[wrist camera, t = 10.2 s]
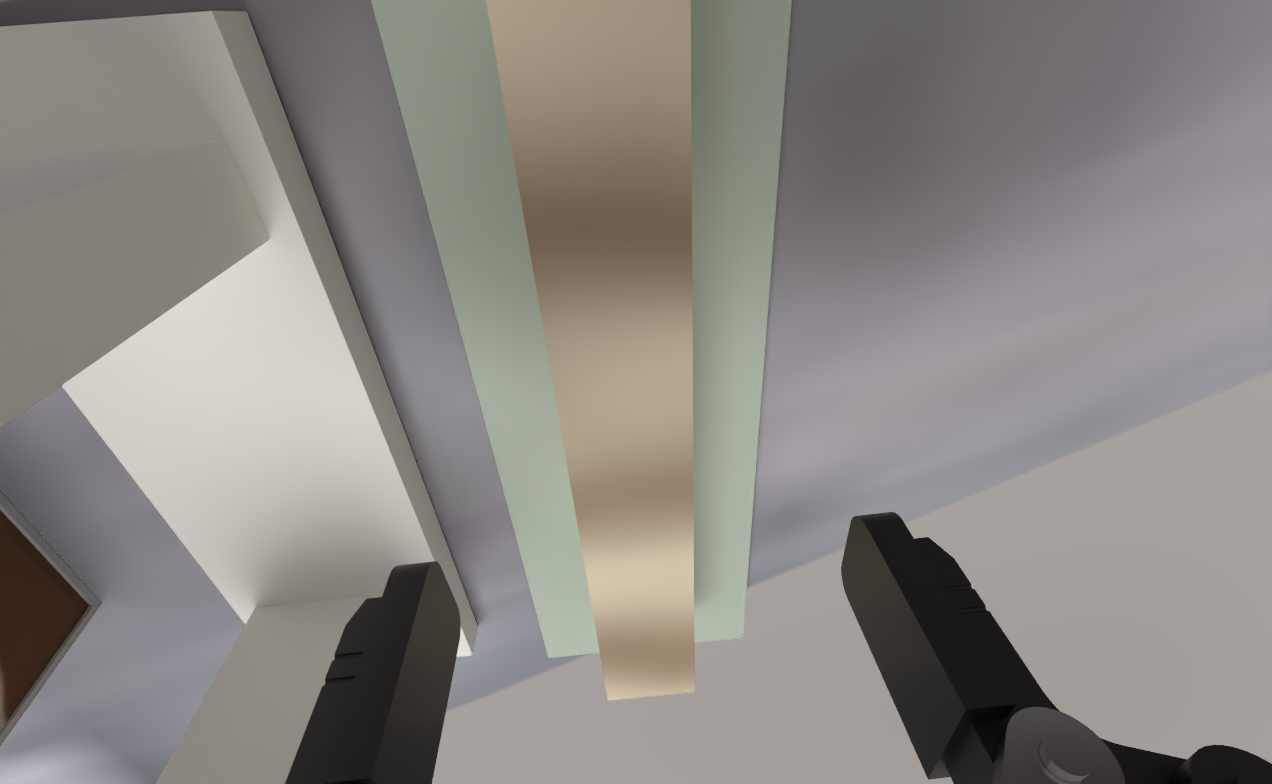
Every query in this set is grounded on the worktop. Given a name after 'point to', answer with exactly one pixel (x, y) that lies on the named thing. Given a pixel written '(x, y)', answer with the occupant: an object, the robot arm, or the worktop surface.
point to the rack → (207, 348)
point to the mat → (508, 303)
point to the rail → (615, 301)
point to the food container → (33, 613)
